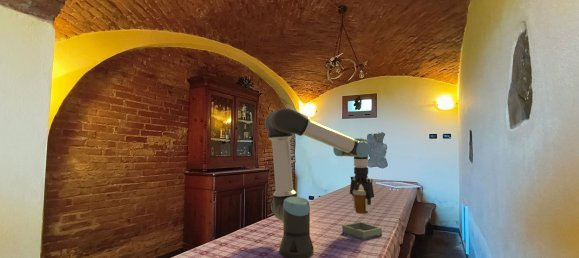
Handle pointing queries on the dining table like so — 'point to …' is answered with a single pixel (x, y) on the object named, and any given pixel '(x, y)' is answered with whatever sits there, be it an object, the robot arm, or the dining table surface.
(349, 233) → the bin
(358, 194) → the disposable coffee cup
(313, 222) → the dining table surface
